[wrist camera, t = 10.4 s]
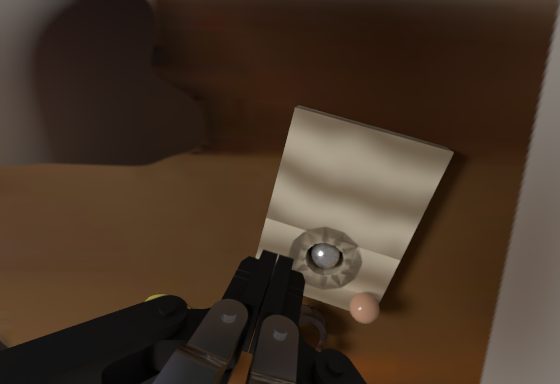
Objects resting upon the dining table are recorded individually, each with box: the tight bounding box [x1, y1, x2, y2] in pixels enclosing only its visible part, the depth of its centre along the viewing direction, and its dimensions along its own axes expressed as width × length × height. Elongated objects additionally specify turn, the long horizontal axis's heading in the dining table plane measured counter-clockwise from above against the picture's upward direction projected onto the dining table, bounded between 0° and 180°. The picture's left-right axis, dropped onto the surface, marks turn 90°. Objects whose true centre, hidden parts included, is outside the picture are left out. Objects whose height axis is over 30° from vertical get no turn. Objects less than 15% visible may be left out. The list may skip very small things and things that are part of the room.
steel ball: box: [311, 243, 340, 268], centre depth 36 cm, size 3×3×3 cm
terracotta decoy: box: [349, 293, 380, 324], centre depth 35 cm, size 3×3×3 cm
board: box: [256, 105, 454, 311], centre depth 35 cm, size 22×16×2 cm
